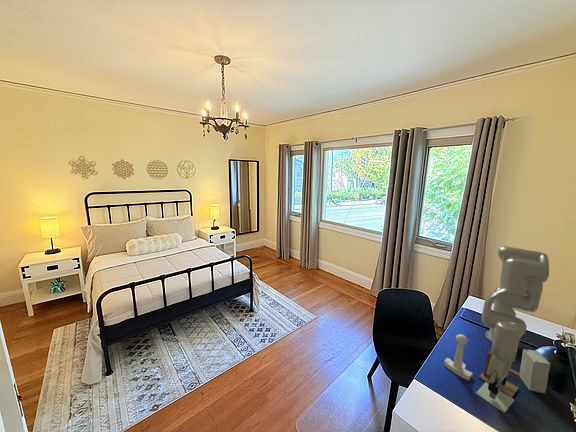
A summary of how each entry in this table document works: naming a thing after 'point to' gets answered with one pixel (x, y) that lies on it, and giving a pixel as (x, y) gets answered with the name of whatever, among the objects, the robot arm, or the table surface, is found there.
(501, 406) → the mat
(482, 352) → the table surface
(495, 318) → the robot arm
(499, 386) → the grey u-shaped block
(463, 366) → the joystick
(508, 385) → the stand
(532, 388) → the skincare box
